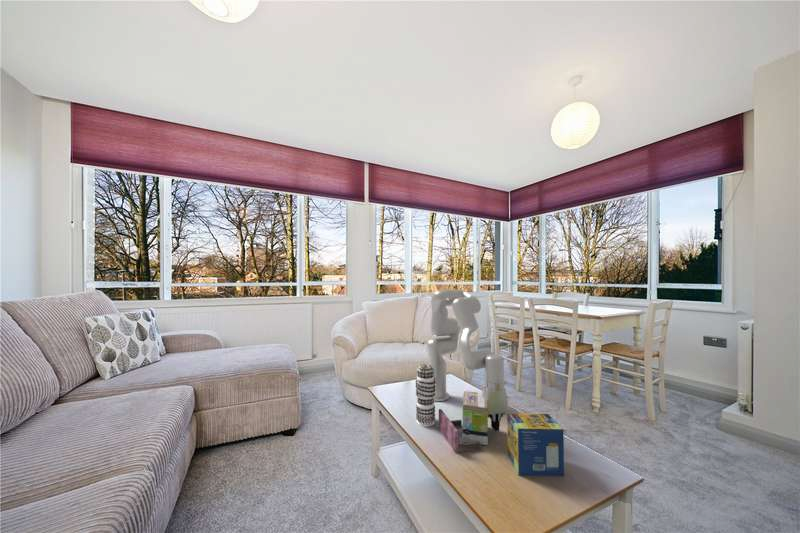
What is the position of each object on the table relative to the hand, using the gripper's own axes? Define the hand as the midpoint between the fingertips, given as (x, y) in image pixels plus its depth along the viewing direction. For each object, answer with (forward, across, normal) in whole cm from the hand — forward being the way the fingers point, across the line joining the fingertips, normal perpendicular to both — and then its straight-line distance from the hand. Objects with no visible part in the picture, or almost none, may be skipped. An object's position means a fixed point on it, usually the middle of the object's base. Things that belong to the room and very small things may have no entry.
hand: (495, 429), depth 121 cm
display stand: (+2, +17, 0) cm, 17 cm away
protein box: (+2, -2, +21) cm, 22 cm away
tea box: (+2, +8, -1) cm, 9 cm away
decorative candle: (+2, +25, -16) cm, 30 cm away
